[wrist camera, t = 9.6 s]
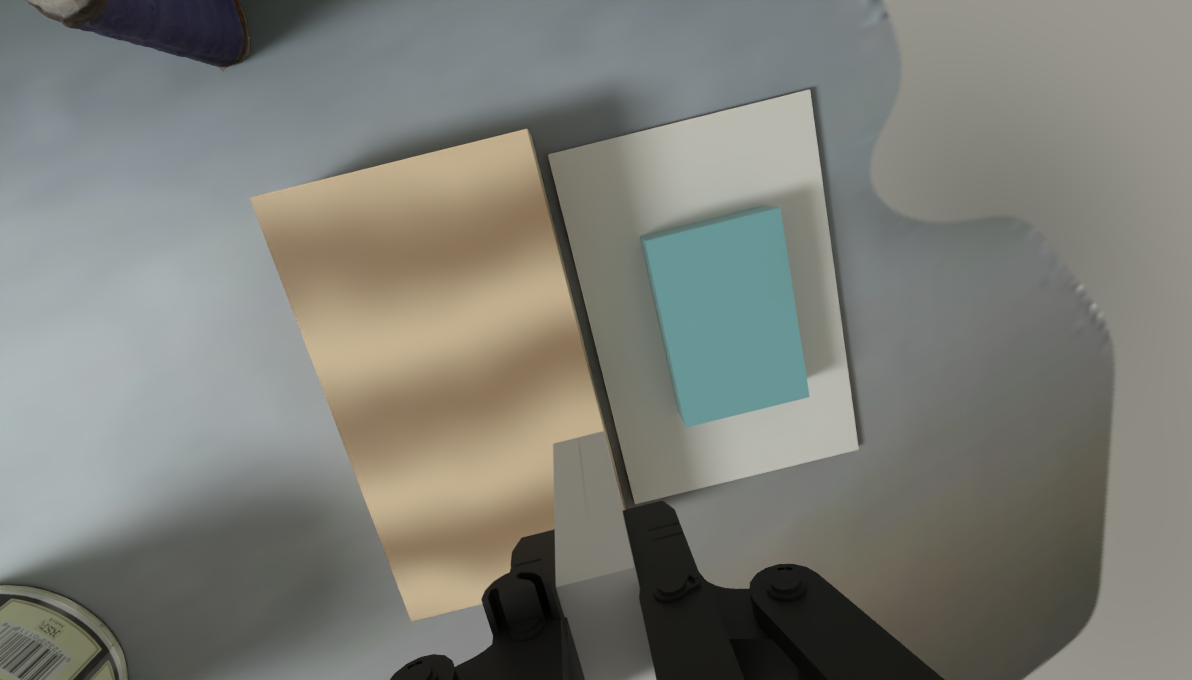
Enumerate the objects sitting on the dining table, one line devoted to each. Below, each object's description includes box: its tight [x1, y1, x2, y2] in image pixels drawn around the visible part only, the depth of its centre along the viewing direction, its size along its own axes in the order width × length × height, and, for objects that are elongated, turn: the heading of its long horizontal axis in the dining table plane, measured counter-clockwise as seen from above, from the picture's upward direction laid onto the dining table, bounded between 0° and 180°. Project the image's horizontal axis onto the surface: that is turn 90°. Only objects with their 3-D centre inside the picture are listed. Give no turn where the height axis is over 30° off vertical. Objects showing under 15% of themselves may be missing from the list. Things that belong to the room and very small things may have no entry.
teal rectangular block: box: [640, 205, 810, 427], centre depth 29 cm, size 9×6×2 cm, turn 13°
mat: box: [548, 89, 859, 504], centre depth 30 cm, size 18×12×1 cm, turn 13°
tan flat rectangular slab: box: [250, 129, 627, 621], centre depth 29 cm, size 20×11×4 cm, turn 13°
